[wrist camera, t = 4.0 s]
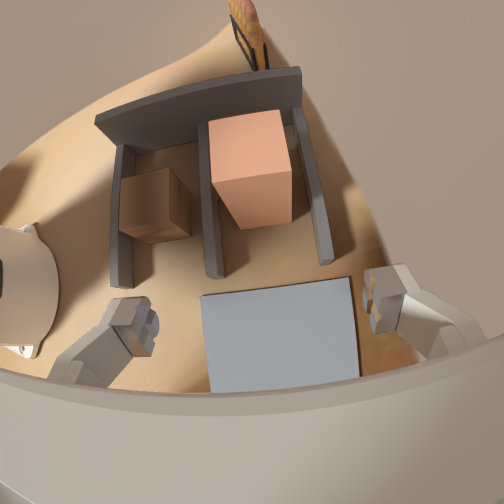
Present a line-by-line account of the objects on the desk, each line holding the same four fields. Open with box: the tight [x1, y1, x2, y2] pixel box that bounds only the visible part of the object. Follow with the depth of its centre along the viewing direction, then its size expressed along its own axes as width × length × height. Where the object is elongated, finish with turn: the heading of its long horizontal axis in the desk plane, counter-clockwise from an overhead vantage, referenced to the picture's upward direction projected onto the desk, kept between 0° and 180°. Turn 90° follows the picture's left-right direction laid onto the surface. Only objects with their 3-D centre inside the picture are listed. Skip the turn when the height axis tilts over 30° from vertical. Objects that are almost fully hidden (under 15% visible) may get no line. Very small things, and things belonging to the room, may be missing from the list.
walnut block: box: [119, 167, 192, 244], centre depth 27 cm, size 5×5×6 cm
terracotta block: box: [209, 110, 292, 230], centre depth 23 cm, size 5×5×11 cm
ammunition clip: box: [228, 0, 269, 72], centre depth 28 cm, size 11×2×12 cm, turn 17°
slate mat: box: [200, 277, 359, 393], centre depth 25 cm, size 14×13×1 cm
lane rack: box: [94, 66, 335, 289], centre depth 26 cm, size 21×17×8 cm
